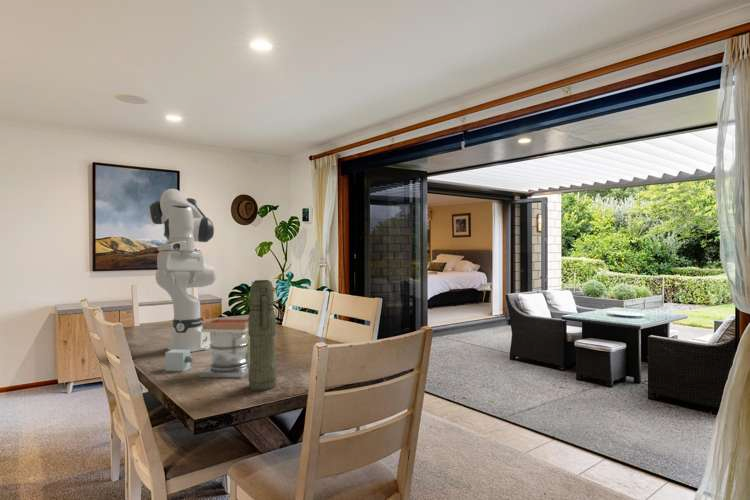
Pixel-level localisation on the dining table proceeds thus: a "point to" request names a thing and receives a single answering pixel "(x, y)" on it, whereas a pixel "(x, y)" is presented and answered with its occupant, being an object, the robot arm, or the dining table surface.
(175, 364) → the pale grey rectangular block
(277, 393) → the dining table surface
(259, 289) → the thermos
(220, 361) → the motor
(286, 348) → the dining table surface
